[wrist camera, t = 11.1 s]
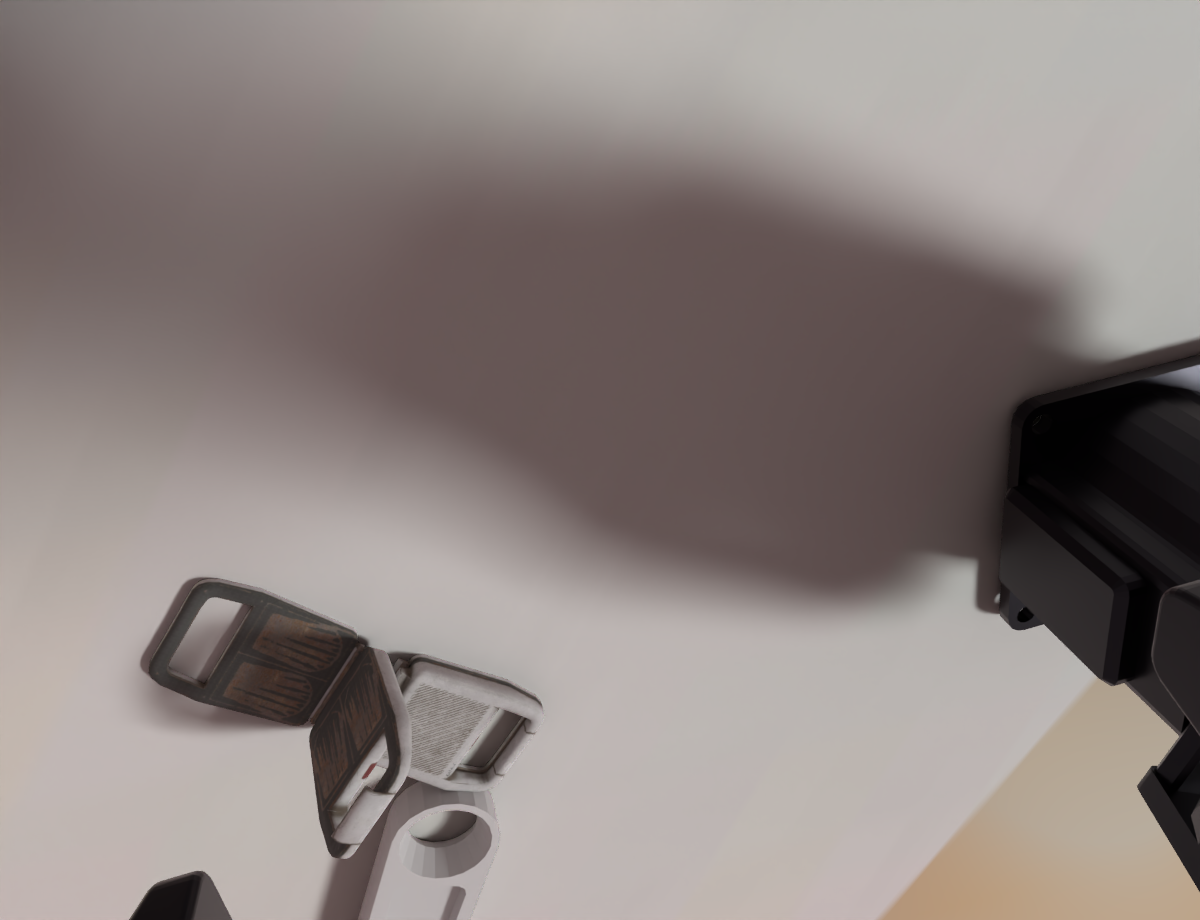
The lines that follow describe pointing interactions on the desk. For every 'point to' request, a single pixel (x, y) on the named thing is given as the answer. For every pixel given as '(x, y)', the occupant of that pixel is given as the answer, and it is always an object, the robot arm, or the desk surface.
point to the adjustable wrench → (431, 859)
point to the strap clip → (351, 705)
